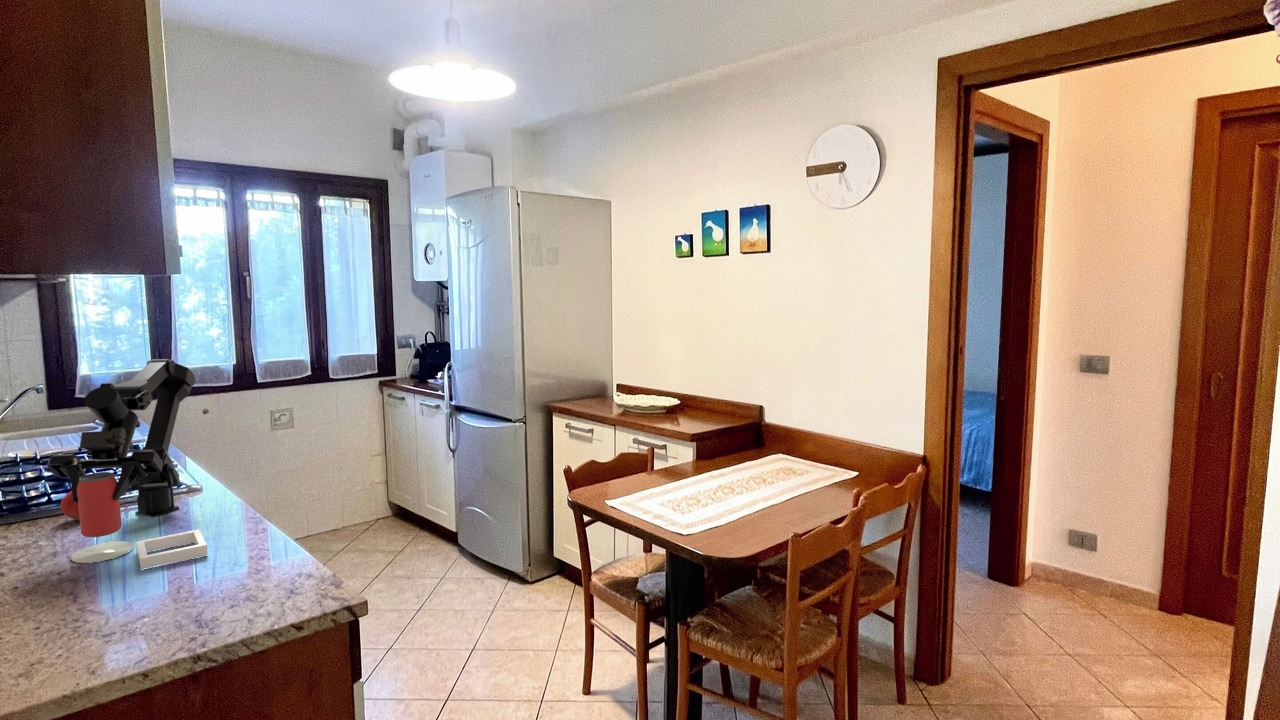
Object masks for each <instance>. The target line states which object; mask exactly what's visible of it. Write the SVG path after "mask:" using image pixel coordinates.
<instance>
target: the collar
mask: <svg viewBox="0 0 1280 720" xmlns="http://www.w3.org/2000/svg"><path fill="white" fill-rule="evenodd" d="M135 542H136V552H137V553H138V554H137V557H138V558H139V559H138V562H140V563H139V566H140V567H141V568H140V570H141V569H144V568H149V567H153V566H157V565H161V564H166V563H171V562H176V561H182V560H188V559H192V558H196V557H201V556H205V555H209V554H208V544H207V542H206V540H205V538H204V536H203V533H202V532H201V529H195V530H188V531H183V532H178V533H173V534H169V535H164V536H160V537H159V536H158V537H153V538H152V537H151V538H148V539H143V540H138V541H135ZM191 543H195V544H194V545H192V544H191ZM186 544H189V546H187V545H186ZM181 545H184V546H185V547H182V546H181ZM174 546H179V548H176V549H174V548H175V547H174ZM169 547H174V548H173V549H170V550H165V551H161V552H160V551H159V552H155V553H152V554H148V553H147V552H148V551H153V550H159V549H163V548H169ZM180 547H181V548H180Z"/></svg>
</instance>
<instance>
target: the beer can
mask: <svg viewBox="0 0 1280 720" xmlns="http://www.w3.org/2000/svg"><path fill="white" fill-rule="evenodd" d="M79 480H80V481H79V484H78V486H77V498H78V508H79V518H80V520H79V527H80V534H81V535H82V536H83V537H86V538H101V537H105V536H110V535H113V534H115V533H117V532H119V530H120V531H121V529H122V526H123V525H122V523H123V522H122V513H121V512H122V511H121V501H120V498H119V499H118V500H114V499H113V497H114V492H115V489H116V486H117V483H118V481H117V479H116V477H115V474H114V473H113V472H111V471H109V472H107V471H106V472H104V471H103V472H95V473H89V474H85V476H82V477H80V478H79Z"/></svg>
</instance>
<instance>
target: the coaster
mask: <svg viewBox="0 0 1280 720" xmlns="http://www.w3.org/2000/svg"><path fill="white" fill-rule="evenodd" d="M132 548H133V549H134V544H133V543H132V542H129V541H121V540H120V541H119V540H118V541H108V542H103V543H98V544H94V545H89V546H87V547H84V548H82V549H79V550H77V551H76V552H74V553H72V554H71V562H72V563H74V562H76V563H75V564H79V563H89V564H91V563H90V562H98V561H103V562H105V561H104V560H108V559H112V558H115V557H118V556H121V555H123V554H125V553H127V552H128V551H130V550H131V549H132ZM121 557H122V556H121ZM118 558H119V557H118ZM115 559H116V558H115ZM112 560H113V559H112ZM108 561H109V560H108ZM98 563H99V562H98Z"/></svg>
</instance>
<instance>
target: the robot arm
mask: <svg viewBox="0 0 1280 720" xmlns="http://www.w3.org/2000/svg"><path fill="white" fill-rule="evenodd" d="M195 382H196V379H195V374H194V372H193V371H192V370H191V368H189V367H187V366H184V365H182V364H178V363H176V361H174V360H173V359H170V358H161V359H160V358H157V359H156V358H155V359H151V360H148V361H147V363H146V365H145V366H144V367H143V368H142V369H141V370H140V371H139V372H138V373H137V374H136V375H134V376H133V377H132V378H131V379H130V380H128V381H123V382H118V383H116V384H113V383H111V382H109V383H108V382H107V383H106V382H105V383H103V382H102V383H101V384H100V385H99V387H97V388H95V389H93V390H90V392H88V393H87V394H86V395H85V396H84V399H83V403H84V405H85V406H86V408H87V409H88V410H89V411H90V412H91V414H92V415H93V416H94V418H95V419H96V420H97V421H98V422H99V423H103V424H102V427H101V430H99V431H83V432H81V435H80V443H79V449H82V450H83V449H84V450H86V452H85V453H86V455H87V456H89V457H90V456H91V458H90V459H89V458H88V459H87V458H86V459H80V458H79V457H78V455H76V454H75V453H61V454H54V455H51V456H50V458H49V460H48V462H47V463H46V467H47V468H48V469H50V471H51V472H52V473H53V474H54V475H55V476H56V477H57V478H59V479H69V480H70V486H71V491H72V496H73V501H74V502H75V503H78V498H77V486H78V484H79V481H80V480H79V478H80V477H82V476H85V475H86V473H85V472H86V470H91V469H92V470H93V469H95V470H97V469H114V468H117V469H118V468H121V471H120V472H121V473H120V476H119V477H118V481H117V482H118V483H117V486H116V489H115V492H114V497H113V499H114V500H118V499H119V500H120V499H121V497H122V496H123V495H124V494H126V492H127V491H128V490H129V489H130V491H137V492H138V493H137V494H138V496H137V497H136V501H137V511H135V512H134V513H135V515H141V516H145V517H154V518H155V517H157V516H160V515H164V514H167V513H170V512H172V511H177V510H179V509H180V506H178V505H175V499H174V497H175V496H174V488H175V487H178V486H180V484H179V483H180V473H179V471H177V470H176V468H175V467H174V462H173V460H172V458H171V455H170V454H169V447H170V444H171V441H172V435H173V432H174V428H175V423H176V420H177V416H178V411H179V408H180V405H181V402H182V401H184V399H186V398H187V397H188V396H189V395H190V394H191V391H192V388H193V386H194V385H195ZM153 392H155V393H156V395H157V400H156V404H155V407H154V411H153V415H152V419H151V422H150V427H149V429H148V433H147V436H146V440H145V445H144V446H143V447H142V449H135V450H133V448H134V444H133V442H132V441H133V437H134V434H135V432H136V431H135V430H136V428H140V427H141V423H140V421H139V417H138V415H137V414H136V413H135V411H146V410H147V409H148V408H149V406H150V405H151V404H152V401H153V395H152V393H153ZM130 450H133V451H132V453H131V457H128V455H129V454H128V453H129V451H130Z"/></svg>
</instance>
